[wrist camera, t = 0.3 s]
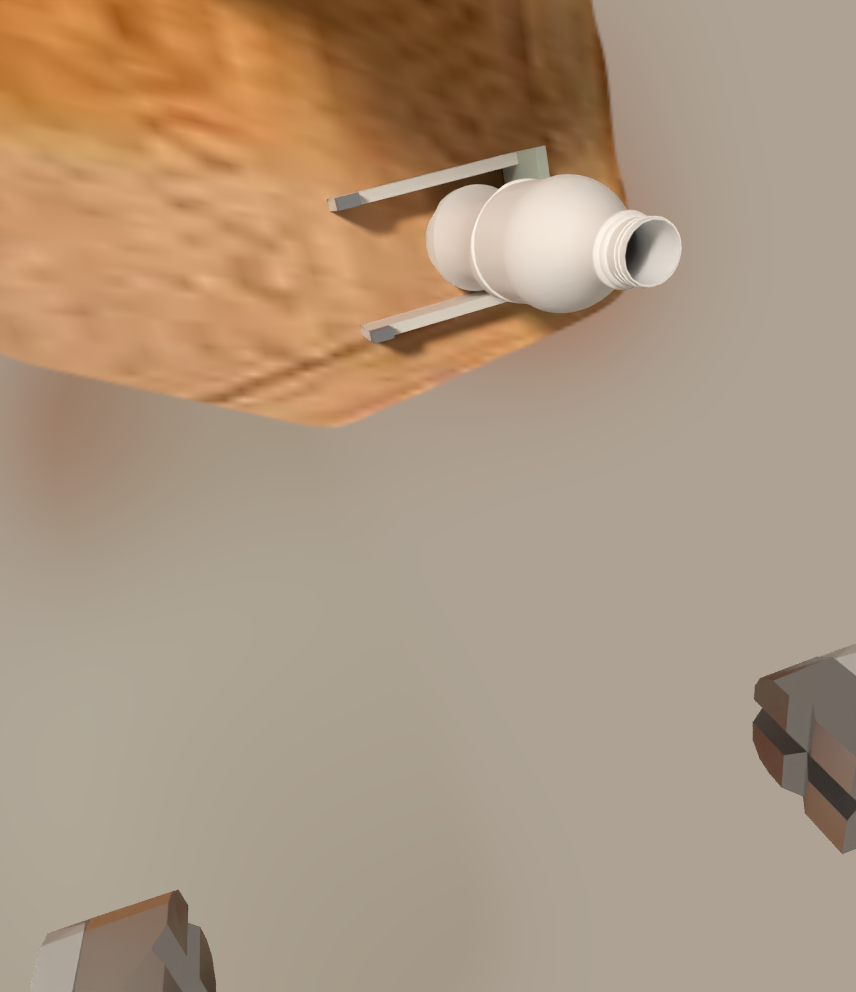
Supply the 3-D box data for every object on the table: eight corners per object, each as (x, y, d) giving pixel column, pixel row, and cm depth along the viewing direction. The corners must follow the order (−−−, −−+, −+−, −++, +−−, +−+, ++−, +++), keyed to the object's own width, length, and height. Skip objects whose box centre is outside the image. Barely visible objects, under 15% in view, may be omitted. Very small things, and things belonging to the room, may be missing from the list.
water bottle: (508, 281, 56) (716, 324, 33) (421, 292, 54) (579, 345, 32) (505, 181, 53) (728, 156, 31) (413, 190, 51) (578, 169, 29)
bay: (326, 199, 50) (342, 197, 44) (509, 152, 52) (545, 145, 47) (363, 335, 54) (381, 348, 48) (531, 286, 56) (566, 293, 51)
